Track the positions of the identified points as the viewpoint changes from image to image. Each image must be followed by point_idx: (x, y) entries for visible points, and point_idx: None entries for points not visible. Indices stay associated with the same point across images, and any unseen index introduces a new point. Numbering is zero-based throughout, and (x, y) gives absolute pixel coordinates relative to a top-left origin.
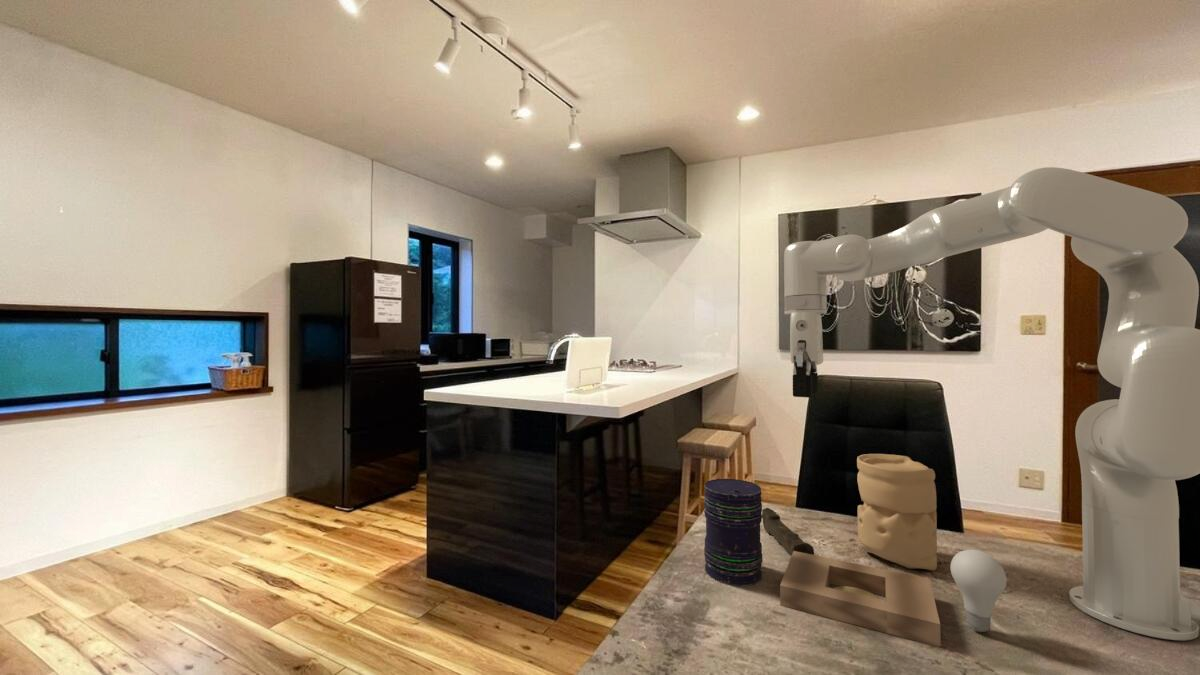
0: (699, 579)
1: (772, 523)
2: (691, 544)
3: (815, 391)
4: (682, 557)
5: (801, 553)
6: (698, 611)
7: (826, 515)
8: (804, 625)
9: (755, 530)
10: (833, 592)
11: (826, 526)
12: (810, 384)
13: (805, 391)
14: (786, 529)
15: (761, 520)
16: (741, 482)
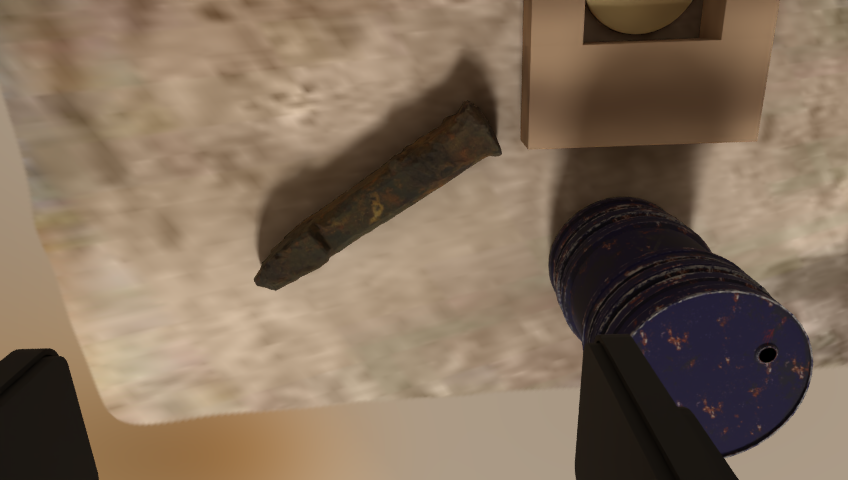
0: None
1: (348, 241)
2: (511, 385)
3: (58, 366)
4: None
5: (537, 126)
6: (822, 271)
7: (34, 113)
8: (800, 69)
9: (700, 249)
10: (746, 16)
11: (145, 100)
12: (675, 422)
13: (687, 410)
14: (384, 195)
15: (662, 249)
16: None
